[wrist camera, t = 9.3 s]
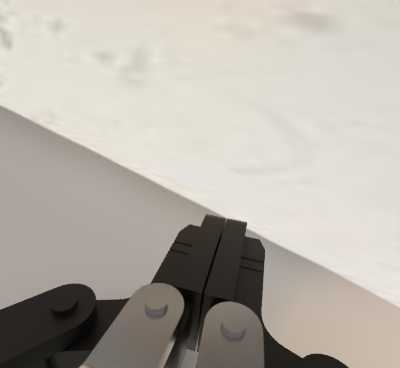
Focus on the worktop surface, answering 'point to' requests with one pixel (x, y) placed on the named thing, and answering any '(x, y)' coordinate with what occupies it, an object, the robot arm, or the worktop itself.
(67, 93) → the worktop surface
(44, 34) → the worktop surface
